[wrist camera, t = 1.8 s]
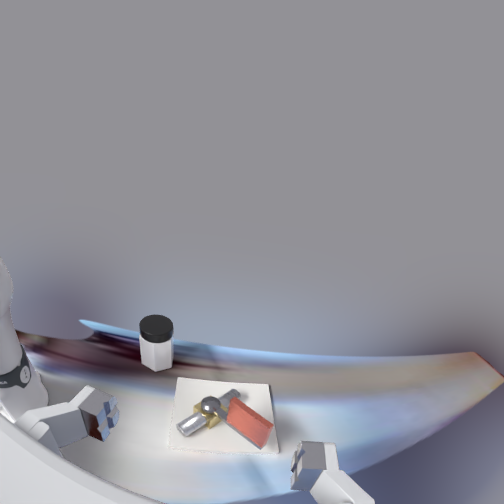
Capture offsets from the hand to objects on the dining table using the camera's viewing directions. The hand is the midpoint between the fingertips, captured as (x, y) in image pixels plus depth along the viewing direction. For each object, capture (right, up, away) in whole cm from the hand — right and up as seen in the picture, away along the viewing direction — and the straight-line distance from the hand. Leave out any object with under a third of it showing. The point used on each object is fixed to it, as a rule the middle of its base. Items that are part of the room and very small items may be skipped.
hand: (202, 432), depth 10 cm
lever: (-2, -26, +39) cm, 47 cm away
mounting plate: (-4, -28, +45) cm, 54 cm away
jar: (-22, -20, +58) cm, 65 cm away
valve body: (-7, -28, +44) cm, 53 cm away
